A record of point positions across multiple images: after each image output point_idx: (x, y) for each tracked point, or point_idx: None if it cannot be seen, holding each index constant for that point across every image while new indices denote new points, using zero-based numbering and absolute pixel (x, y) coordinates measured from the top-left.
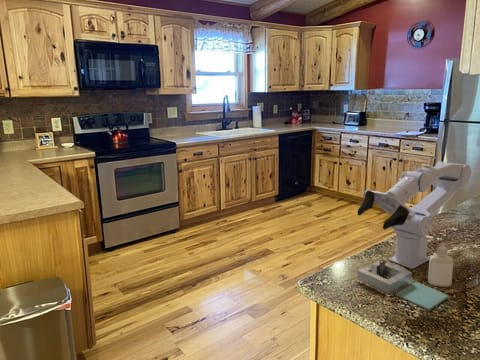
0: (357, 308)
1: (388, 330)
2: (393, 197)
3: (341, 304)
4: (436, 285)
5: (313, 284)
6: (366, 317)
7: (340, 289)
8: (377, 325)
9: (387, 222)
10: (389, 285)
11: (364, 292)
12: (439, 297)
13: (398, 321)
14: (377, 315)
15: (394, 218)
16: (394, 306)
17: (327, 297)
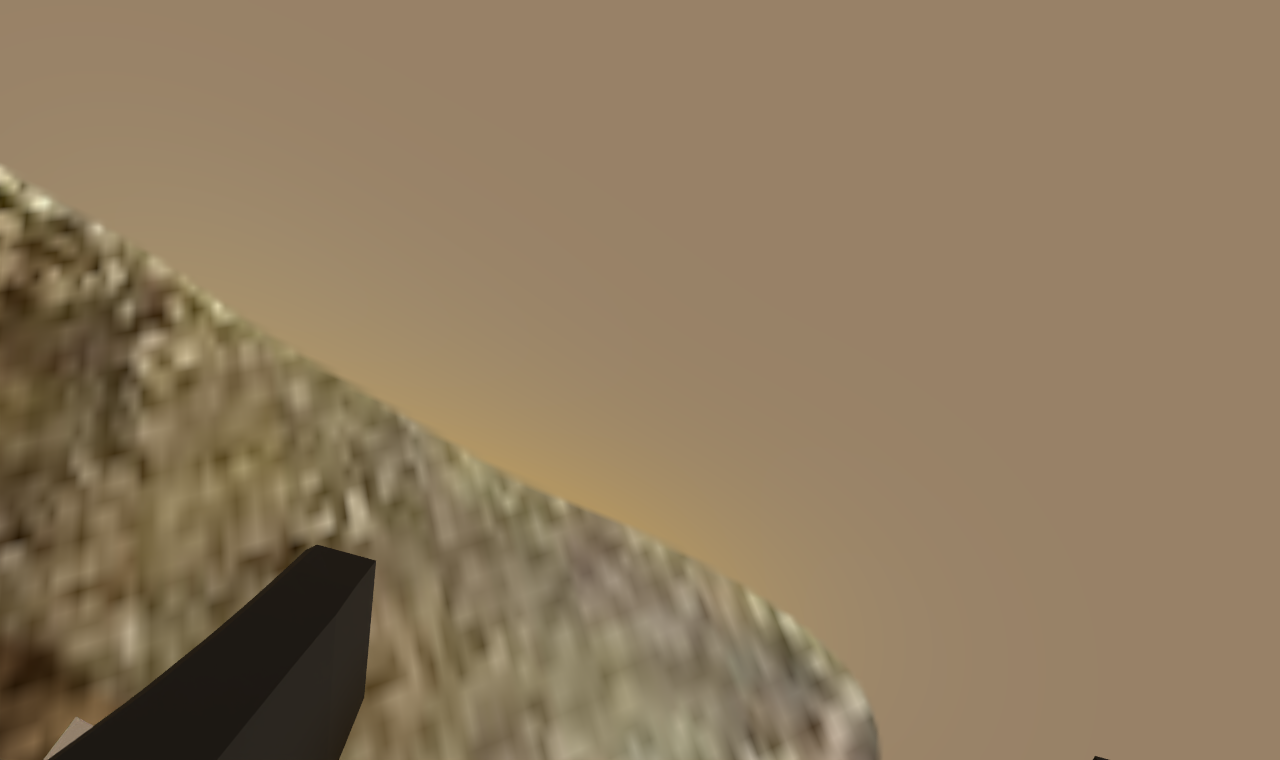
0: (369, 461)
1: (103, 242)
2: None
3: (501, 484)
4: None
5: (803, 725)
6: (283, 360)
7: (572, 724)
8: (191, 283)
9: (286, 569)
10: (77, 724)
11: (343, 753)
12: None
13: (5, 359)
14: (194, 403)
15: (74, 743)
16: (21, 582)
17: (629, 553)
